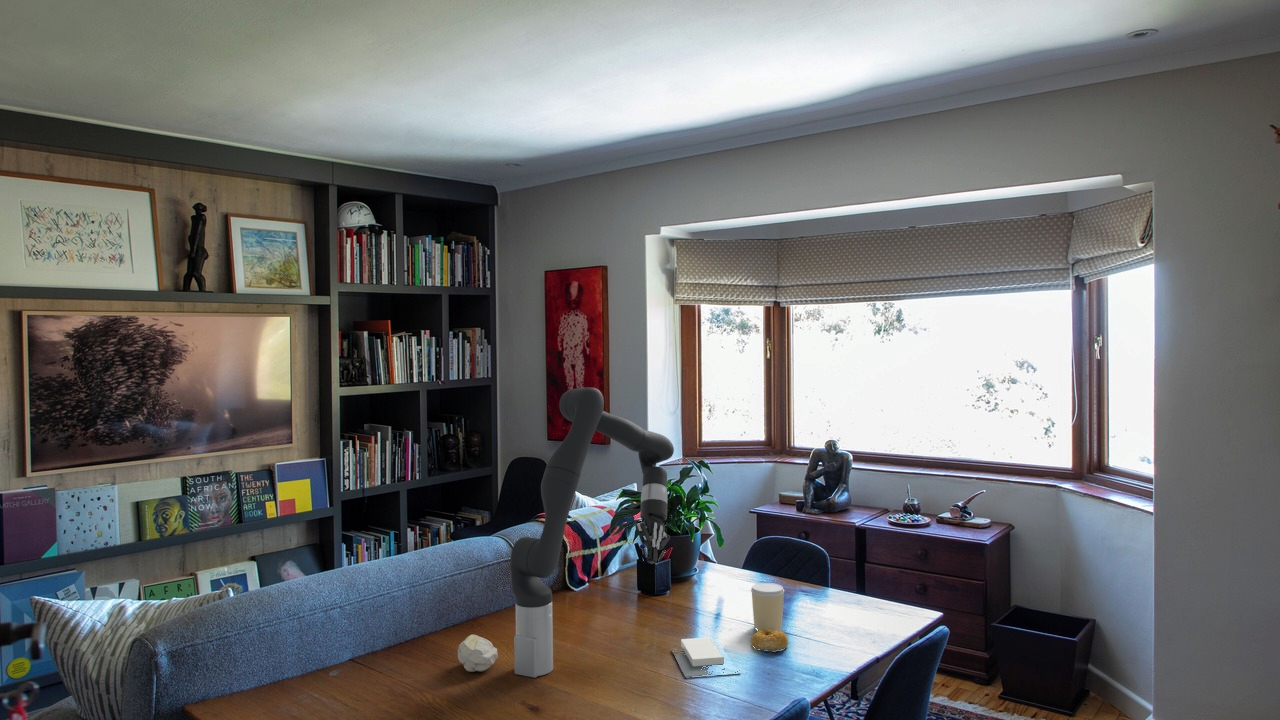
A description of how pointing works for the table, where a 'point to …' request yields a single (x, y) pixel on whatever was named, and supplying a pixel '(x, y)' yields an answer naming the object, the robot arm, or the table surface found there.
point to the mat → (690, 666)
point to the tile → (702, 652)
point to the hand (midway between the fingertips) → (651, 562)
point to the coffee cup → (767, 606)
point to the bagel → (769, 640)
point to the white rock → (476, 653)
